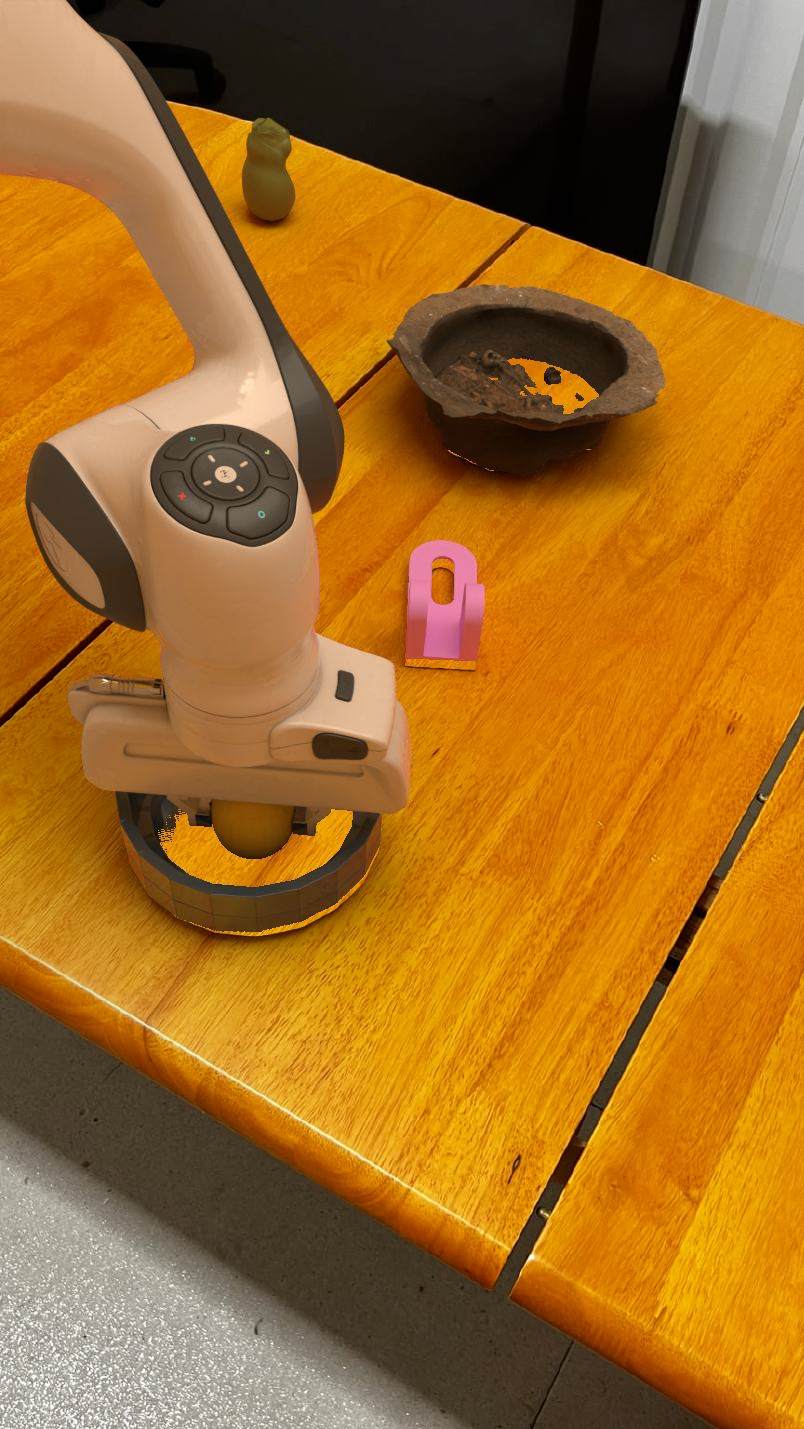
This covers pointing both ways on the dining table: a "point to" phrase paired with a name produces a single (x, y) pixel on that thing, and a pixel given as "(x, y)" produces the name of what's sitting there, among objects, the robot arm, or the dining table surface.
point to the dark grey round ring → (230, 902)
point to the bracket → (444, 606)
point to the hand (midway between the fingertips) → (254, 822)
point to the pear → (268, 171)
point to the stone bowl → (522, 372)
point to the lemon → (252, 827)
